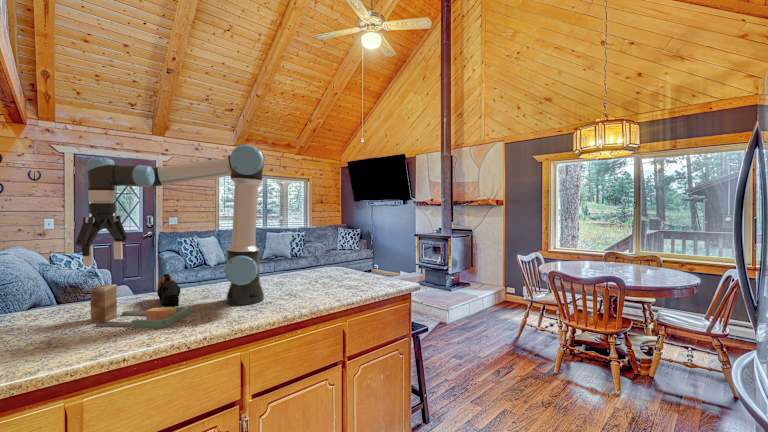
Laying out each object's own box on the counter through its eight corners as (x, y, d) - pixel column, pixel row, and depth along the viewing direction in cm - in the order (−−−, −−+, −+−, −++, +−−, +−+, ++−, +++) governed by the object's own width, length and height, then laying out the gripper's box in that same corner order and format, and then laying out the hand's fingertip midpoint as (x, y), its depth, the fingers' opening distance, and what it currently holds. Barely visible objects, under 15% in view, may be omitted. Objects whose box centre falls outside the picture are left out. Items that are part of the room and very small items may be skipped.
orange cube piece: (176, 318, 129) (175, 307, 129) (169, 322, 125) (169, 311, 125) (165, 318, 129) (164, 307, 129) (158, 322, 125) (158, 311, 125)
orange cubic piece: (164, 318, 129) (164, 307, 129) (157, 322, 125) (157, 310, 125) (153, 318, 129) (153, 307, 129) (146, 322, 125) (146, 310, 125)
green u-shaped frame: (190, 313, 135) (190, 306, 135) (165, 327, 119) (165, 320, 119) (161, 313, 135) (161, 306, 135) (132, 327, 119) (132, 320, 119)
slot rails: (157, 313, 134) (157, 311, 134) (131, 326, 120) (131, 323, 120) (125, 313, 134) (125, 311, 134) (95, 326, 120) (95, 323, 120)
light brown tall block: (117, 317, 130) (116, 284, 129) (105, 322, 124) (104, 287, 124) (103, 317, 130) (102, 284, 129) (90, 322, 124) (89, 287, 123)
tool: (158, 328, 139) (158, 296, 134) (155, 294, 156) (154, 265, 151) (182, 323, 144) (183, 292, 139) (176, 292, 161) (176, 263, 155)
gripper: (117, 202, 138) (119, 256, 139) (59, 202, 113) (62, 268, 114) (137, 202, 138) (138, 256, 139) (83, 202, 113) (85, 268, 114)
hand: (104, 262), depth 126 cm, fingers open, 13 cm apart
